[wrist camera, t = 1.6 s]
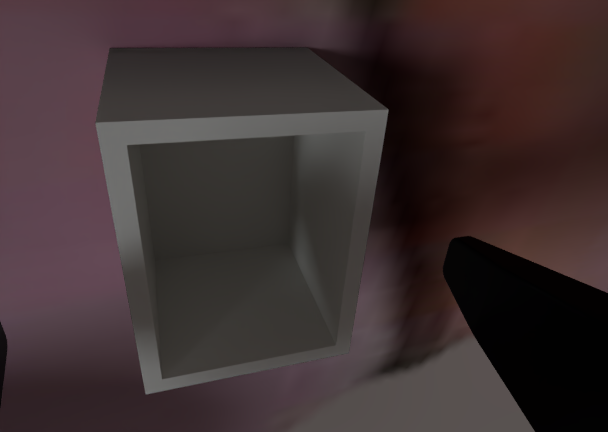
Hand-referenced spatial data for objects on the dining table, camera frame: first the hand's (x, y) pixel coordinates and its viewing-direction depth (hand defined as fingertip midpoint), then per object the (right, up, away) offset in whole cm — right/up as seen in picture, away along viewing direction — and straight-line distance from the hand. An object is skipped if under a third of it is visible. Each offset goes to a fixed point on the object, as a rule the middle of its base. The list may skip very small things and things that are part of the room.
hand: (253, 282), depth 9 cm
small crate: (-2, +3, +4) cm, 5 cm away
